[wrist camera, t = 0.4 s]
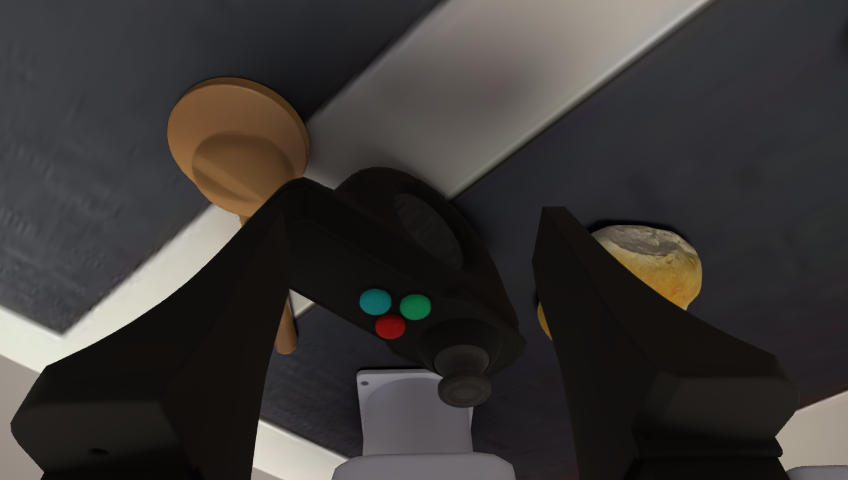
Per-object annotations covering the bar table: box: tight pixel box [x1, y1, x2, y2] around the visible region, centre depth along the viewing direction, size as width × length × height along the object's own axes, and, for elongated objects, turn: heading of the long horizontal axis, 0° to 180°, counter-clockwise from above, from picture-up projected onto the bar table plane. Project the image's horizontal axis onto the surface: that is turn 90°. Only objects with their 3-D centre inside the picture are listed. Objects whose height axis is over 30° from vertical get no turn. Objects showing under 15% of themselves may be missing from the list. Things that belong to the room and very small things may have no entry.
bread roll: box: [537, 225, 702, 340], centre depth 29 cm, size 8×9×4 cm
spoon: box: [167, 77, 309, 354], centre depth 27 cm, size 17×6×1 cm, turn 179°
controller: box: [260, 167, 527, 408], centre depth 22 cm, size 4×12×10 cm, turn 48°
